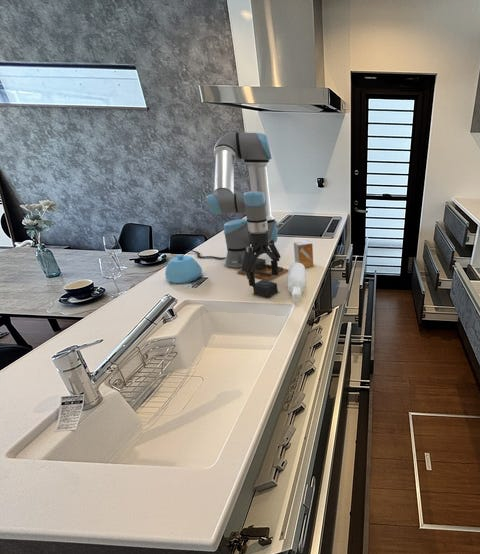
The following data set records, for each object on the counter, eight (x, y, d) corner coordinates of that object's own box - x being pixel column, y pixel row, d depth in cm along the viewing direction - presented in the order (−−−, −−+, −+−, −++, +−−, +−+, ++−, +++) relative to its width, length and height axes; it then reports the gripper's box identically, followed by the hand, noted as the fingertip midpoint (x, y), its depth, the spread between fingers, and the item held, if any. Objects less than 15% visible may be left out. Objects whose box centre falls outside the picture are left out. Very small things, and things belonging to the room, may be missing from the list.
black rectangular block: (253, 294, 131) (252, 284, 129) (263, 288, 136) (262, 279, 134) (268, 297, 128) (267, 287, 126) (277, 292, 133) (276, 282, 131)
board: (237, 273, 152) (236, 262, 150) (258, 264, 164) (256, 254, 161) (269, 280, 144) (267, 270, 142) (288, 271, 156) (287, 261, 154)
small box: (299, 269, 159) (297, 245, 154) (295, 265, 164) (293, 242, 159) (313, 266, 163) (312, 243, 158) (309, 262, 168) (307, 240, 163)
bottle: (289, 277, 148) (287, 307, 122) (288, 262, 145) (285, 289, 118) (306, 276, 150) (307, 305, 123) (305, 261, 147) (306, 288, 120)
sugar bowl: (159, 281, 141) (152, 257, 136) (187, 270, 154) (182, 248, 149) (183, 286, 136) (177, 262, 131) (210, 274, 149) (205, 252, 144)
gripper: (241, 240, 109) (249, 293, 117) (286, 226, 130) (290, 272, 138) (226, 237, 112) (234, 289, 120) (272, 224, 133) (277, 269, 141)
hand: (264, 280), depth 129 cm, fingers open, 13 cm apart
